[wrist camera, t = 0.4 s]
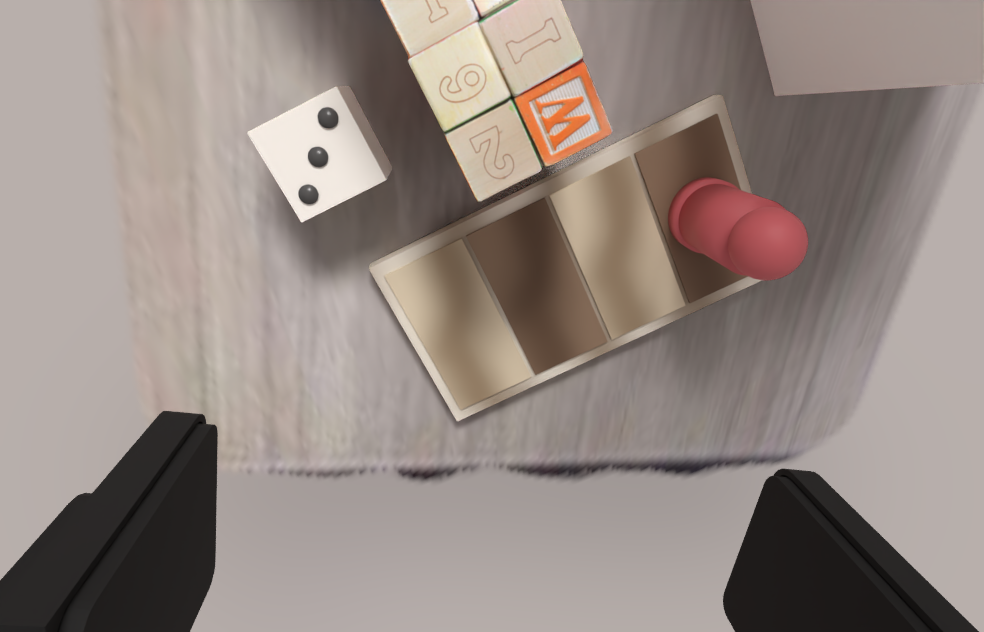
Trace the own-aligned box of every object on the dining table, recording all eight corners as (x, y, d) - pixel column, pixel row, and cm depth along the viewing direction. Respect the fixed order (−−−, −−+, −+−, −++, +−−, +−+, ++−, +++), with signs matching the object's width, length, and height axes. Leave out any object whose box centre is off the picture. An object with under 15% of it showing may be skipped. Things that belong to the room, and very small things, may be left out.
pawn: (726, 164, 36) (820, 189, 27) (746, 229, 37) (841, 273, 29) (658, 197, 36) (729, 232, 27) (681, 260, 38) (755, 312, 29)
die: (349, 86, 34) (336, 86, 29) (392, 167, 36) (386, 180, 31) (272, 126, 34) (246, 132, 30) (318, 204, 36) (301, 222, 31)
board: (713, 94, 36) (724, 95, 34) (766, 268, 40) (777, 274, 39) (370, 263, 38) (368, 269, 36) (456, 412, 42) (457, 423, 40)
